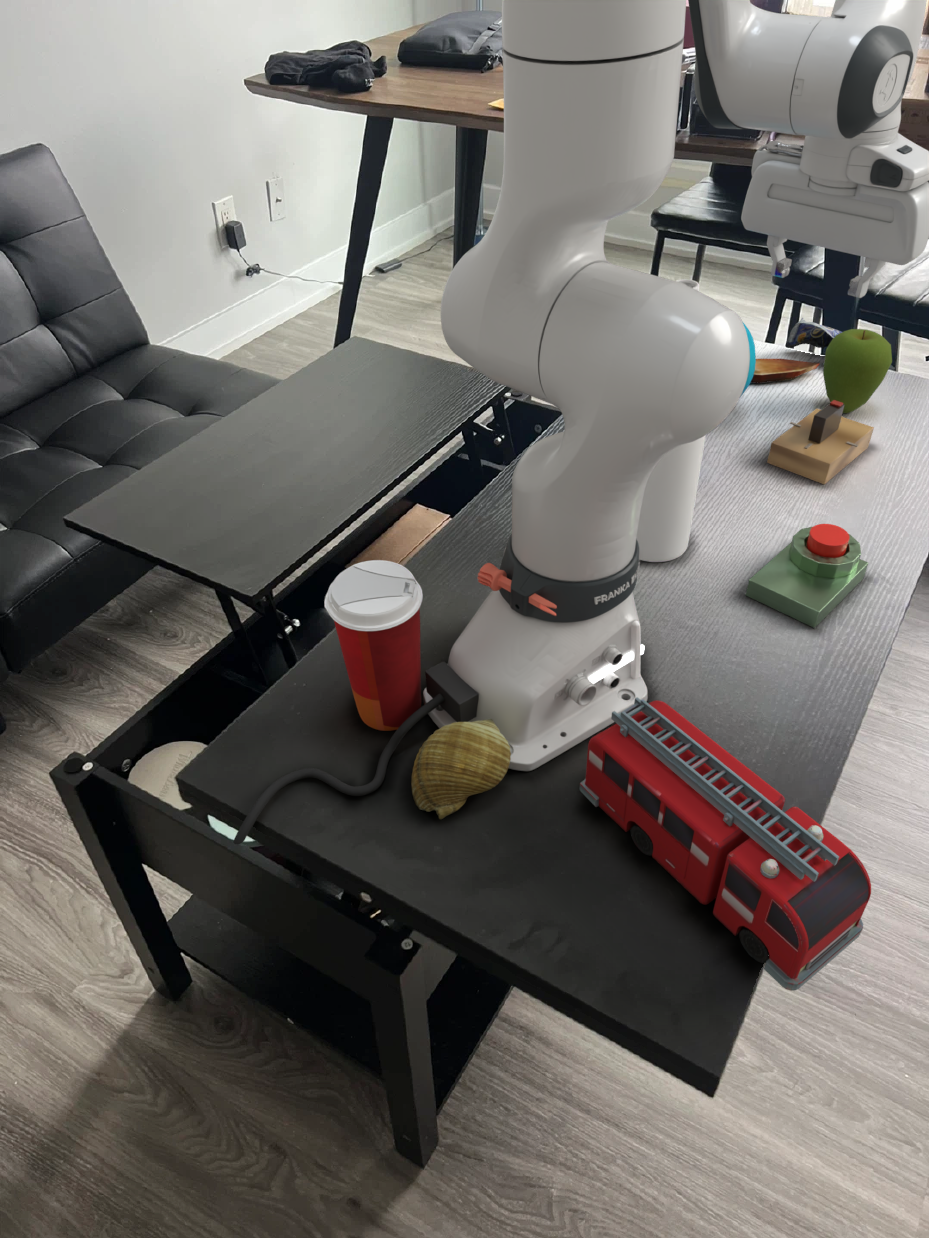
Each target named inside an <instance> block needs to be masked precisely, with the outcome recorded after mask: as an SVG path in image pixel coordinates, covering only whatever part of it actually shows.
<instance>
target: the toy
mask: <svg viewBox="0 0 929 1238" xmlns="http://www.w3.org/2000/svg"><path fill="white" fill-rule="evenodd" d="M634 709H635V710H634ZM629 712H630V713H629ZM611 719H612V720H613V721H614V723H615V724H612V725H611V726H609V727H608V728H606V729H605V730H603V731H599V732H598V733H596V735H595V734H594V735H593V736H591V738H590V739H589V741H588V744H587V755H586V767H585V768H586V769H585V778H584V780H582V781H581V782H580V783H579V792H580V793H581V794H582V795H583V796H584V797H585V798H586V799H587V800H588V801H589V802H590V803H591V804H592V805H593V806H594V807H595V808H597V807H599V809H601V810H602V811H603V812H604V813H605V814H606V815H607V816H608V817H610V819H611V820H612V821H614V822H615V823H616V825H618V826H619V827H620V828H621V829H622V830H623V831H624V832H625V833H628V832H630V837H631V839H632V841H633V843H634V845H635V846H636V847H637V849H638V850H639V851H640V852H641V853H642V854H644V855H646V856H650V857H652V859H654V861H656V862H657V863H658V864H659V865H660V866H661V867H662V868H663V869H664V870H665V871H666V872H667V873H668V874H669V875H671V877H672V878H673V879H675V880H676V881H677V882H678V884H680V885H681V886H682V887H683V888H684V889H685V890H686V891H687V892H688V893H690V894H691V895H692V896H693V898H695V900H697V901H698V902H699V903H700V904H701V905H705V906H706V905H709V904H710V903H712V902H713V901H714V900H715V901H714V906H713V910H712V915H713V916H714V917H715V918H716V920H718V921H719V923H721V924H722V925H723V926H724V927H725V928H726V929H727V930H728V931H729V932H730V933H732V935H734V937H736V936H737V935H738V938H739V942H740V944H741V945H742V947H743V949H744V951H746V953H747V954H748V956H750V957H751V958H752V959H754V960H755V961H756V962H758V963H760V964H764V967H763V970H764V971H765V972H766V973H767V974H768V975H769V976H770V977H771V978H772V979H773V980H774V981H776V982H777V983H778V984H779V985H780V986H781V987H782V988H783V989H785V990H787V991H794V992H795V991H797V990H799V989H801V987H803V986H804V985H805V984H806V983H807V982H809V981H810V980H811V979H812V978H814V976H816V975H817V974H818V973H819V972H820V971H822V970H823V968H824V967H826V966H827V965H828V964H829V963H831V961H832V960H834V959H835V958H836V957H837V956H838V955H840V954H841V953H842V952H843V951H844V950H845V949H846V948H848V947H849V946H850V945H851V944H852V943H853V942H854V941H856V940H857V939H858V938H859V937H860V936H861V934H862V931H863V929H864V922H863V920H862V919H861V918H862V916H863V914H864V912H865V911H866V907H867V906H868V903H869V901H870V899H871V894H872V883H871V878H870V876H869V873H868V870H867V869H866V867H865V865H864V864H863V862H862V861H861V859H860V858H859V856H857V855H856V853H855V852H854V851H853V850H852V849H851V848H850V847H849V846H847V845H846V844H845V843H844V842H843V841H841V840H840V839H839V838H837V837H836V836H835V835H834V834H832V833H831V832H830V831H829V830H828V829H826V828H825V827H823V825H821V824H820V823H819V822H818V821H817V820H815V819H814V818H812V817H811V816H810V815H808V813H806V812H805V811H803V810H802V809H801V808H799V807H798V806H791V807H790V808H789V809H787V810H786V811H783V809H784V806H785V802H786V798H785V796H784V795H783V794H782V793H781V792H780V791H778V790H777V789H776V788H774V787H773V786H771V784H769V783H768V782H766V781H765V780H764V779H763V778H761V777H760V776H759V775H758V774H756V773H755V772H754V771H752V769H750V768H749V767H747V766H746V765H745V764H744V763H743V762H741V761H740V760H739V759H738V758H736V757H735V756H734V755H732V754H731V753H730V752H729V751H727V750H726V749H724V748H723V747H722V746H721V745H720V744H719V743H717V742H716V741H714V740H713V739H712V738H711V737H710V736H708V735H707V734H706V733H705V732H703V731H702V730H700V729H699V728H698V727H697V726H695V725H694V724H693V723H692V722H690V720H688V719H687V718H686V717H684V716H683V715H682V714H680V713H679V712H677V711H676V710H675V708H673V707H672V706H670V705H669V704H668V703H666V702H665V701H662V700H652V701H650V702H646V701H645V700H643V699H642V700H640V699H639V698H638V697H637V698H635V702H634V705H632V706H631V707H629V708H627V709H626V710H624V711H622V712H621V713H619V714H618V713H617V712H615V711H613V712H612V717H611ZM768 955H769V956H768Z"/></svg>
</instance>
